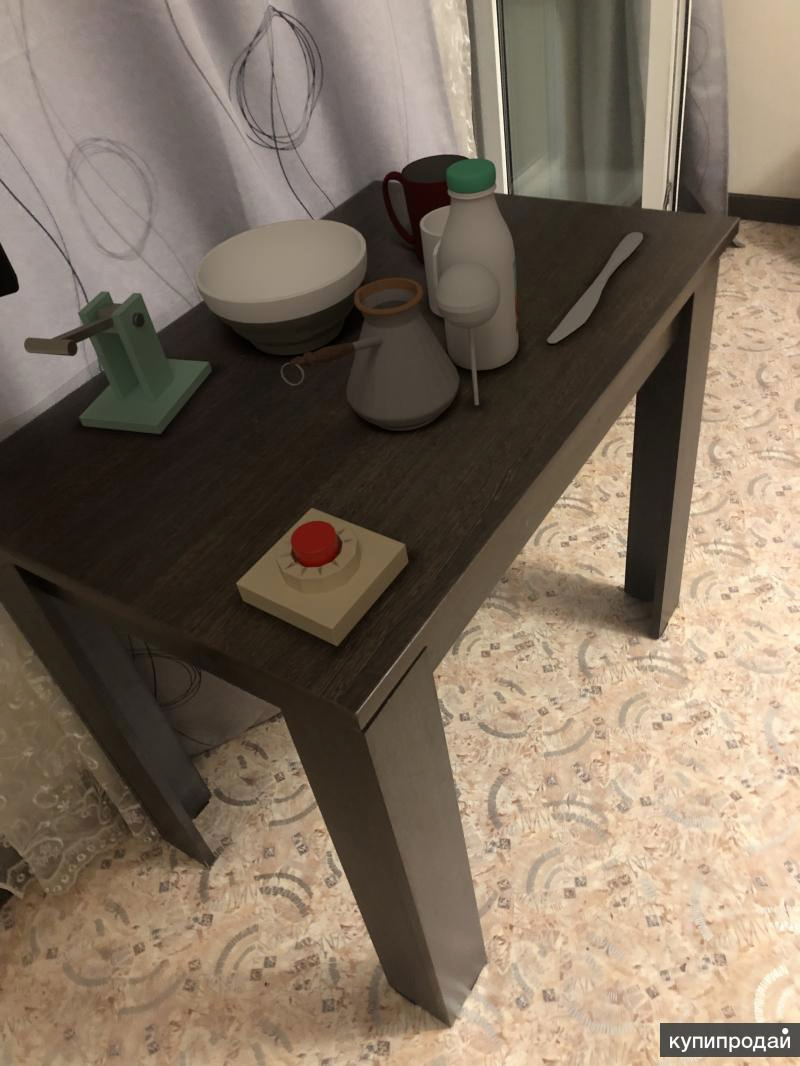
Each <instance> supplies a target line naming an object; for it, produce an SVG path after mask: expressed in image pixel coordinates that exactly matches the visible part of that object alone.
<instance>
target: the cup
mask: <svg viewBox="0 0 800 1066" xmlns="http://www.w3.org/2000/svg"><path fill="white" fill-rule="evenodd" d="M449 211H450V206H445V207H442V208H439V209H436V210H434V211H432V212H430V213H428V214H427V215H425V216H424V217H423V218H422V220H421V222H420V229H421V238H422V246H423V255H424V263H425V264H424V270H425V280H426V287H427V296H428V297H427V298H428V305H429V309H430V311H431V312H432V313H433V314H435V315H437V316H438V317H439V318H440V317H441V318H443V316H442V315H441V314H440V312H439V310H438V307H437V304H436V301H435V293H436V288H437V285H438V283H439V281H440V266H439V249H440V242H441V237H442V234H443V231H444V228H445V225H446V222H447V219H448V216H449Z"/></svg>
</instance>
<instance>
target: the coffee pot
mask: <svg viewBox="0 0 800 1066" xmlns="http://www.w3.org/2000/svg"><path fill="white" fill-rule="evenodd" d="M423 289H424V288H423V287H422V285H421V284H420V283H419V282H418V281H415V280H413V279H411V278H407V277H388V278H381V279H378V280H374V281H371V282H369V283H367V284H365V285H361V287H360V288H358V289H357V290H356V292H355V297H354V306H355V307H356V309H357V310H358V311H359V312H361V314H362V316H363V318H364V320H363V323H362V327H361V329H360V335H359V339H358V340H355V341H353V342H346V343H339V344H335V345H328V346H322V347H320V348H319V349H317V350H316V351H313V352H312V351H310V352H306V353H303V354H302V356H296V357H294V358H293V359H292V360H290V361H289V362H286V363H284V364H282V366H281V368H280V376H281V378H282V380H283V381H284V382H285V383H286V384H288V385H290V386H299V385H301V384H302V383H303V382H304V380H305V371H304V369H303V367H304V366H305V367H307V368H312V367H314V366H315V364H318V363H329V362H332V361H335V360H337V359H340V358H342V357H345V356H347V355H350V354H352V353H355V354H354V357H353V362H352V365H351V368H350V373H349V376H348V381H347V383H346V388H345V394H346V400H347V402H348V404H349V405H350V406H351V409H353V411H354V412H355V413H356V414H357V415H358V416H359V417H360V418H362V419H363V420H364V421H365V422H368V423H370V424H372V425H375V426H377V427H378V428H381V429H384V430H387V431H396V432H401V431H405V432H406V431H411V430H416V429H419V428H422V427H424V426H427V425H429V424H430V423H433V422H434V421H435V420H436V419H437V418H438V417H439V416H440V415H441V414H442V413H444V412H445V411H446V410H447V409H448V408H449V407H450V406H451V405H452V403H453V401H454V399H455V398H456V395H457V393H458V391H459V386H460V375H459V373H458V370H457V367H456V365H455V363H454V362H453V361H452V360H451V358H450V357H449V354H448V352H446V350H445V349H444V346H443V345H442V344H441V342H440V341H439V339H438V338H437V336H436V334H435V332H434V331H433V330H432V328H431V327H430V325H429V323H428V322H427V320H426V319H425V318H424V316H423V314H422V313H421V311H420V310H419V305H420V302H421V300H422V299H423V296H424V290H423ZM287 365H289V367H290V368H295V369H299V370H300V372H301V376H302V377H301V380H300V381H299V382H297V383H292V382H290V381H288V379H286V377H285V375H284V368H285V367H286V366H287Z"/></svg>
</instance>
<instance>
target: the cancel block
mask: <svg viewBox="0 0 800 1066" xmlns="http://www.w3.org/2000/svg"><path fill="white" fill-rule="evenodd" d="M311 521H324V522H327V523H329V524H331V525H332V526H333V527H334V529H335V532H336V535H337V539H338V543H339V553H338V555H337V557H336V558H335V559H334V560H333V561H332V562H330V563H328V564H325V565H323V566H321V567H305V566H303V565H301V564H300V563H299V562H298V561H297V560H296V557H295V554H294V551H293V548H292V545H291V536H292V534H293V532H294V531H295V530H296V529H297V528H298V527H299V526H301V525H303V524H305V523H308V522H311ZM408 564H409V556H408V551H407V545H406V543H404V542H401V541H397V540H396V539H393V538H390V537H388V536H386V535H383V534H381V533H378V532H374V531H372V530H369V529H367V528H364V527H362V526H359V525H357V524H355V523H352V522H349V521H347V520H344V519H341V518H340V517H336V516H334V515H332V514H329V513H326V512H324V511H321V510H318V509H316V508H313V507H310V508H309V510H308V511H307V512H305V514H303V516H302V517H301V518H300V519H299V520H298V521H296V523H295V524H293V526H292V527H290V529H288V530H287V532H286V533H284V535H283V536H281V538H280V539H278V541H277V542H276V543H275V544H273V546H272V547H271V548H269V550H268V551H267V552H266V553H265V554H264V555H263V556H262V557H260V559H258V561H257V562H255V563H254V564H253V566H252V567H251V568H250V569H248V571H247V572H246V573H244V575H243V576H241V577H240V579H238V580H237V581H236V583H235V584H236V588H237V590H238V592H239V595H240V597H241V599H242V601H243V602H245V603H247V604H249V605H251V606H253V607H255V608H257V609H259V610H261V611H264V612H266V613H267V614H270V615H272V616H274V617H276V618H277V619H280V620H282V621H284V622H286V623H288V624H289V625H292V626H294V627H296V628H298V629H300V630H302V631H304V632H307V633H309V634H310V635H312V636H315V637H316V638H319V639H321V640H323V641H324V642H327V643H329V644H331V645H333V646H335V647H338V646H340V644H341V643H342V642H343V640H344V639H345V638H346V637H347V636H348V635H349V633H350V632H351V631H352V630H353V629H354V627H355V626H356V625H357V624H358V623H359V622H360V621H361V619H362V618H363V617H364V616H365V614H366V613H367V612H368V611H369V610H370V609H371V608H372V606H374V604H375V603H376V602H377V600H378V599H379V598H380V597H381V596H382V595H383V594H384V592H385V591H386V589H388V587H389V586H390V585H391V584H392V583H393V581H395V579H396V578H397V577H398V575H400V573H401V572H402V571H403V570H404V569H405V567H406V566H407V565H408Z"/></svg>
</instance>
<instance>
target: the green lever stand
mask: <svg viewBox="0 0 800 1066" xmlns="http://www.w3.org/2000/svg"><path fill="white" fill-rule="evenodd" d="M113 303H114V300H113V298H112V296H111V293H110V291H100V292H99V293H98V294H97V295H96V296H94V297H93V298H92V299H91V300H90V301H89V302H88V303H87V304H86V305H85V306H83V308H81V310H79V311H78V312H77V315H78V317H79V319H80V321H81V324H82V326H83V325H85V324H87V323H90V322H92V321H94V320H97V319H99V318H98V314H97V310H98V309H100V308H103V307H105V306H108V305H110V304H113ZM120 304H121V305H120V306H119V307H118V308H117V309H116V310H115V311H114V312H113V313H112V314H111V317H112V319H113V321H114V324H115V326H116V328H117V331H118V333H119V334H113V333H102V332H101V333H99V334H96V335H94V336H92V337H90V338H88V339H89V341H90V344H91V345H92V348H93V350H94V352H95V354H96V356H97V359H98V361H99V364H100V365H101V367H102V370H103V372H104V374H105V376H106V379H107V381H108V383H109V384H108V386H107V387H106V388H105V389H104V390H103V391H102V392H101V393H100V394H99V395H98V396H97V397H96V398H95V399H94V401H92V402H91V404H90V405H88V407H87V408H86V409H85V410H84V411H83V412H82V413H81V414H80V416H78V420H79V421H80V423H81V425H82V426H83V427H88V428H89V427H90V428H98V429H107V430H109V429H110V430H119V431H128V432H136V433H137V432H138V433H145V434H155V435H162V433H163V432H164V430H165V429H166V428H167V427H168V425H169V424H170V423H171V422H172V421H173V420H174V418H175V417H176V416H177V414H178V413H179V412H180V411H181V410H182V408H183V407H184V406H185V405H186V403H187V402H188V401H189V400H190V399H191V397H193V395H194V394H195V392H196V391H197V390H198V389H199V388H200V387H201V385H202V384H203V382H204V381H205V380H206V379H207V378H208V376H209V375H210V374H211V373H212V371H213V368H212V365H211V363H210V361H205V360H204V361H203V360H202V361H201V360H189V359H177V358H167V357H166V354H165V351H164V349H163V346H162V344H161V341H160V339H159V336H158V334H157V331H156V329H155V325H154V323H153V320H152V318H151V315H150V313H149V310H148V308H147V305H146V302H145V300H144V297H143V294H142V293H141V292H133V293H131V295H129V296H128V298H127V299H125V300H124V301H123V302H122V303H120Z"/></svg>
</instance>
